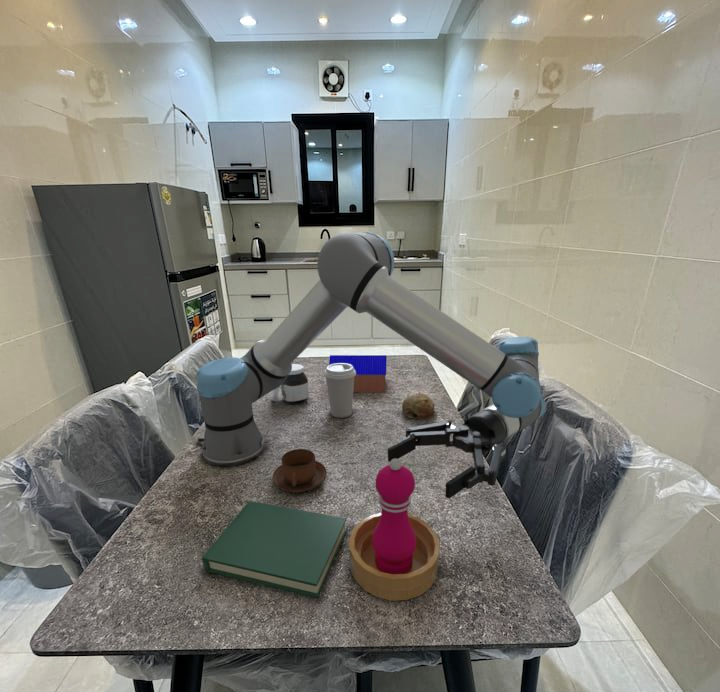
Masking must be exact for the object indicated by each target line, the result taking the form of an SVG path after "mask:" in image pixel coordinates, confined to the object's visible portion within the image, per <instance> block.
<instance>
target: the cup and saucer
mask: <svg viewBox="0 0 720 692" xmlns="http://www.w3.org/2000/svg"><path fill="white" fill-rule="evenodd" d="M326 477H327V468H326V466H325V465H324V464H323V463H321V462H320V461H317V460H316V455H315V453H314V452H313V451H311V450H310V449H307V448H306V449H305V448H295V449H293V450H289V451H287V452H285V453H284V454H283V455H282V456H281V464H280V465H279V466H278V467H277V468H276V469H275V470H274V472H273V473H272V481H273V484H274V485H275V486H276V487H277V488H279V489H280V490H283V491H285V492H288V493H303V492H308V491H311V490H314V489H315V488H317V487H318V486H320V485H321V484H322V483H323V482H324V481H325V480H326Z"/></svg>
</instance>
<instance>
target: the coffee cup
mask: <svg viewBox="0 0 720 692" xmlns="http://www.w3.org/2000/svg"><path fill="white" fill-rule="evenodd" d="M355 375H356V371H355V369H354V368H353V366H352V365H351V364H347V363H335V364H331V365H329V364H328V365H327V366H326V368H325V370H324V373H323V376H324V377H325V381H326V387H327V394H328V400H329V401H328V403H329V408H330V414H331V416H333V417H335V418H339V419H340V418H348V417H349V416H351V415H352V414H353V405H354V404H353V403H354V392H353V390H354V376H355Z"/></svg>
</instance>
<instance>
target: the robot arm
mask: <svg viewBox="0 0 720 692" xmlns="http://www.w3.org/2000/svg"><path fill="white" fill-rule="evenodd" d="M316 266H317V274H318V277H319V280H318V281H317V282H316V283H315V284H314V286H312V288H311V289H310V290H309V291H308V292H307V294H306V295H305V296H304V297H303V298H302V299H301V301H299V303H297V305H296V306H295V307H294V308H293V309H292V311H290V313H289V314H288V315H287V316H286V317H285V319H283V321H282V322H281V323H280V324H279V325H278V326H277V328H276V329H275V330H274V331H273V332H272V333H271V334H270V335H269V336H268V337H267V339H260V340H257V341H256V342H255V343H254V344H253V346H251V348H250V349H249V350H248V351H247V352H246V353H245V354H244V355H243V356H242V357H235V356H229V357H228V356H226V357H221V358H219V359H214V360H210V361H208V362H206V363H205V364H203V365H202V366H200V368H198V370H197V372H196V375H195V378H196V379H195V380H196V391H197V394H198V398H199V403H200V407H201V411H202V416H203V421H204V422H203V423H204V426H205V427H204V428H205V431H204V437H202V438H199V437H198V438H197V442H202V448H201V449H202V450H201V451H202V456H203V459H204V461H205V462H207V463H208V464H210V465H213V466H219V467H233V466H238V465H242V464H245V463H248V462H250V461H252V460H254V459H257V458H258V457H259V456H260V455H261V454H262V453H263V452H264V450H265V447H266V445H265V440H266V436H265V435H263V434H262V433H261V431H260V429H259V427H258V425H257V423H256V421H255V418H254V411H253V404H254V403H255V402H256V401H258V400H259V399H261V398H263V397H265V396H266V395H268V394H269V393H271V392H273V391H274V389H276V388H278V387H279V386H280V387H281V385H282V383H283V382H284V381H285V380H286V378H287V376H288V374H289V373H290V372H291V370H292V364H293V362H294V361H295V360H296V359H297V358H298V357H299V356H300V355H301V354H302V353H303V352H304V351H305V350H306V349H307V348H308V347H310V346H311V344H312V343H313V342H314V341H315V340H316V339H317V338H318V337H320V335H321V334H322V333H323V332H324V331H325V330H326V329H327V328H328V327H330V325H331V324H332V323H333V322H334V321H335V320H336V319H337V318H338V317H339V316H340V315H341V314H342V313H343V312H344V311H345V310H346V309H347V308H350V309H351V310H353V312H356V313H357V314H364V313H367V314H369V315H370V316H371V317H373V318H375V320H377V321H379V322H380V323H382V324H383V325H385V326H386V327H388V328H389V329H391V330H392V331H393V332H395V333H397V334H398V335H400V336H401V337H402V338H404V339H405V340H407V341H408V342H409V343H411V344H413V345H414V346H415V347H417V348H418V349H420V350H421V351H423V352H425V353H426V354H427V355H429V356H430V357H432V358H433V359H435V360H436V361H437V362H439V363H441V365H443V366H444V367H447V368H448V369H449V370H451V371H452V372H454V373H455V374H456V375H458V376H460V377H461V378H463V379H464V380H465V381H467V382H468V383H470V384H471V385H472V386H474V387H476V388H477V389H479V390H480V391H482V392H483V393H484V394H486V395H487V396H489V397H490V398H491V400H492V403H493V404H490V405H488V406H487V407H485V408H483V409H481V410H480V411H478V412H475V413H474V414H473V415H471V416H469V417H468V418H467V419H466V420H465V421H464V423H463V424H461V425H453V424H452V419H445V420H442V421H440V422H434V423H427V424H423V425H416V426H412V427H411V426H410V427H407V428H405V437H404V438H402V439H401V440H398V441H397V443H396V444H393V445H392V446H389V448H387V461H388V462H389V463H390V461H391V460H392V459H399V460H400V459H401V458H403V457H404V456H406V455H408V454H409V453H412V452H413V451H415V450H416V447H425V446H426V447H427V446H445V447H447V448H451V447H452V448H453V447H454V448H456V449H460V450H462V451H463V452H464V453H467V454H468V453H470V454H472V460H473V465H474V466H473V465H471V466H469V467H468V468H467V469H465V470H464V471H462V472H460V473H459V474H457V475H455V476H454V477H453V478H451V479H450V480H448V481H447V482H446V483H445V495H444V496H445V498H447V499H452V498H453V497H454V496H455V495H457V494H458V493H460V492H462V491H463V490H464V489H467V490H469V489H472V488H473V487H475V486H476V485H477V484H479V483H483V482H485V483H487V485H488V486H491V487H492V486H493V487H494V486H495V485H496V483H497V478H498V475H499V470H500V465H501V462H502V461H503V460H504V459H505V457H506V452H507V443H506V442H507V440H509V439H510V438H511V437H513V436H515V435H516V434H518V433H519V432H521V431H523V430H524V429H526V428H527V427H529V426H531V425H533V424H534V423H536V422H537V420H539V419H540V418H541V417H542V416H543V415H544V414H545V412H546V409H547V403H546V400H545V398H544V395H543V394H542V386H541V383H540V374H539V373H540V372H539V371H540V370H539V356H540V353H539V343H538V340H536V338H533V337H529V336H512V337H507V338H504V339H501V340H500V341H499V343H498V345H497V347H496V346H494V345H493V344H491V343H490V342H489V341H486V340H485V339H483V338H482V337H480V336H479V335H477V334H476V333H475V332H473V331H471V330H470V329H469V328H467V327H466V326H465V325H463V324H461V323H460V322H458V321H457V320H456V319H453V317H451V316H450V315H448V314H446V312H443V311H442V310H441V309H439V308H437V307H436V306H434V305H433V304H431V303H430V302H428V301H427V300H425V299H424V298H422V297H421V296H419V295H418V294H416V293H415V292H413V291H411V290H410V289H409V288H407V287H406V286H404V285H403V284H401V283H400V282H398V281H397V280H396V279H394V278H393V277H391V276H392V274H393V272H394V269H395V255H394V251H393V249H392V247H391V245H390V244H389V242H388V241H387V240H386V239H385V238H384V237H383V236H381V235H379V234H376V233H374V232H370V231H361V232H353V233H351V232H345V233H344V232H343V233H338V234H335V235H333V236H332V237H331V238H329V239H328V240H327V241H326V242H325V243H324V244H323V245H322V247H321V249H320V251H319V253H318V257H317V262H316ZM280 387H279V388H280ZM451 435H452V440H451ZM504 442H505V443H504ZM490 451H491V454H492V457H491V461H490V465H489V468H488V470H487V469H486V468H485V467H486V465H485V462H484V455H483V453H486V452H487V453H488V452H490Z"/></svg>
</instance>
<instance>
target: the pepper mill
mask: <svg viewBox="0 0 720 692" xmlns="http://www.w3.org/2000/svg"><path fill="white" fill-rule="evenodd" d="M415 488H416V480H415V476H414V475H413V473H412V471H411V470H410V469H409V468H407V467H406V466H404V465H402V461H401V460H400V458H399V459H392V460H391V461H390V462H389V464H388V465H385V466H383V467H382V468H381V469H380V470H379V471H378V473H377V475H376V477H375V489H376V492H377V493H378V504H379V506H380V508H381V513H382V514H381V519H380V521H379V523H378V524H377V526H376V528H375V530H374V533H373V538H372V546H373V549H374V551H375V563H376V566H377V568H378V569H379V570H380V571H381V572H384V573H389V574H406V573H407V572H408V571H409V570H410V569H411V567H412V562H413V553H414V551H415V549H416V536H415V533H414V530H413V528H412V526H411V524H410V521H409V518H408V514H409V513H408V510H409V508H410V507H411V505H412V494H413V492H414V491H415Z"/></svg>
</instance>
